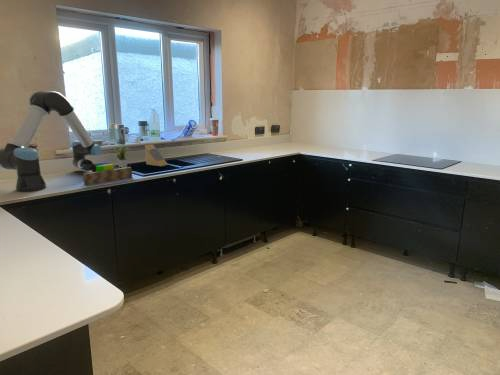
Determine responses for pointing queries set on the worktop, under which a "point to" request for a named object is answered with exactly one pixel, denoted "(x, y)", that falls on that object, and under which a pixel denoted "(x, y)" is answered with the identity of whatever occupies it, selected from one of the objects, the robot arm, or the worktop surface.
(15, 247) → the worktop surface
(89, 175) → the walnut board
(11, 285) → the worktop surface
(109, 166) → the puzzle toy
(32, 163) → the robot arm
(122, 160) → the house plant
